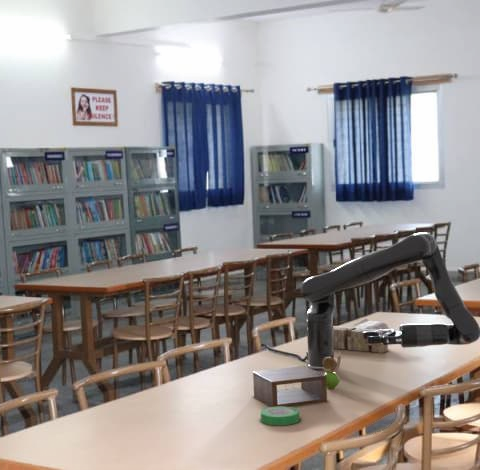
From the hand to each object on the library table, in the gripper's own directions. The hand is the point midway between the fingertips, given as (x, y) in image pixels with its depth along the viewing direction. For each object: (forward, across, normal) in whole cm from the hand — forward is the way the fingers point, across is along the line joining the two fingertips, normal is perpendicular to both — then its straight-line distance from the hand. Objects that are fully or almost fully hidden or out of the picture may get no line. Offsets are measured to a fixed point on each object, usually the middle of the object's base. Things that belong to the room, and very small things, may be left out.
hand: (365, 337), depth 303 cm
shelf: (+26, +12, +16) cm, 33 cm away
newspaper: (-12, -93, +16) cm, 95 cm away
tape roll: (+31, +36, +16) cm, 50 cm away
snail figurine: (+11, 0, +16) cm, 20 cm away
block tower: (-5, -63, +16) cm, 65 cm away
